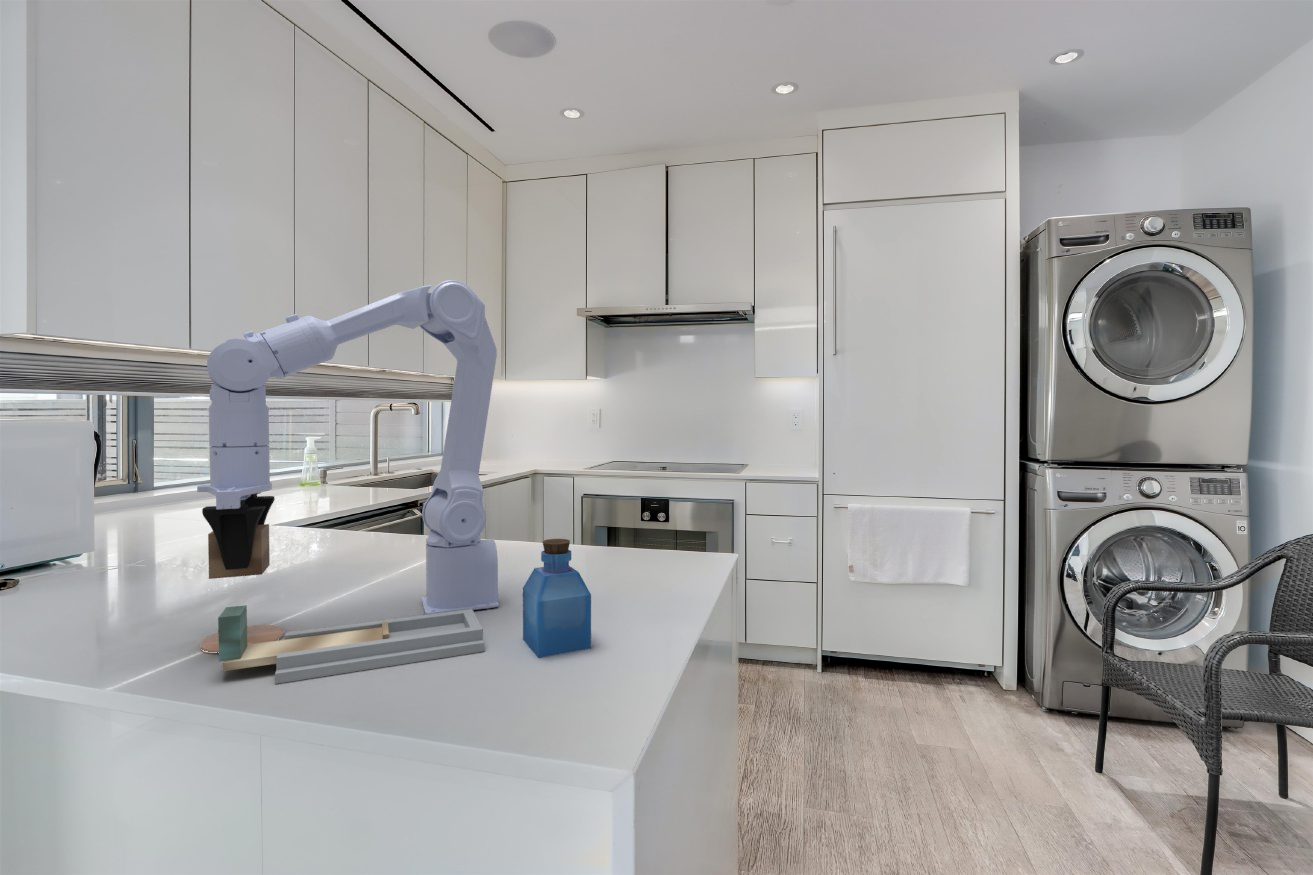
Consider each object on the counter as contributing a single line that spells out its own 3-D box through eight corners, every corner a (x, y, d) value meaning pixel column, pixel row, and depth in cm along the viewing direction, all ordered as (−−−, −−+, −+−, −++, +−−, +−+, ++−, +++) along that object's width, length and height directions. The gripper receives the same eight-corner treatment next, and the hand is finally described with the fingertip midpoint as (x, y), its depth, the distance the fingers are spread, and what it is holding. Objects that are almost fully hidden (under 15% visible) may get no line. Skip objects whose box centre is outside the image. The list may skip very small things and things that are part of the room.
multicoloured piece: (387, 633, 70) (387, 588, 70) (388, 647, 66) (388, 600, 66) (228, 654, 64) (227, 605, 64) (217, 671, 60) (216, 619, 59)
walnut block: (269, 564, 74) (269, 524, 74) (261, 574, 69) (261, 530, 69) (219, 568, 72) (219, 526, 72) (208, 578, 67) (208, 534, 67)
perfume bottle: (537, 658, 66) (537, 548, 66) (523, 639, 72) (522, 538, 71) (591, 648, 69) (591, 543, 69) (572, 631, 75) (572, 534, 74)
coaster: (287, 625, 76) (287, 621, 76) (278, 646, 69) (278, 642, 69) (209, 634, 73) (209, 630, 73) (192, 658, 66) (192, 654, 66)
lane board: (471, 623, 77) (470, 606, 77) (484, 651, 68) (484, 631, 68) (287, 648, 68) (287, 629, 68) (275, 683, 59) (274, 661, 59)
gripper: (212, 444, 75) (214, 553, 75) (179, 449, 62) (181, 581, 62) (279, 443, 78) (281, 548, 78) (260, 448, 65) (262, 574, 65)
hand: (241, 562), depth 71 cm, fingers closed on walnut block, 5 cm apart
